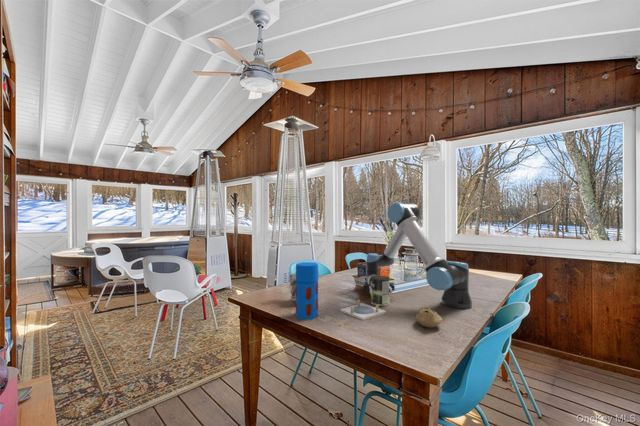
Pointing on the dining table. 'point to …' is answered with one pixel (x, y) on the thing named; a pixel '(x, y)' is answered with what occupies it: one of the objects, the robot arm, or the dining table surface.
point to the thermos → (306, 290)
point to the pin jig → (362, 311)
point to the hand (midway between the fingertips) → (381, 291)
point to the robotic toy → (293, 285)
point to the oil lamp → (428, 318)
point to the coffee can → (380, 290)
